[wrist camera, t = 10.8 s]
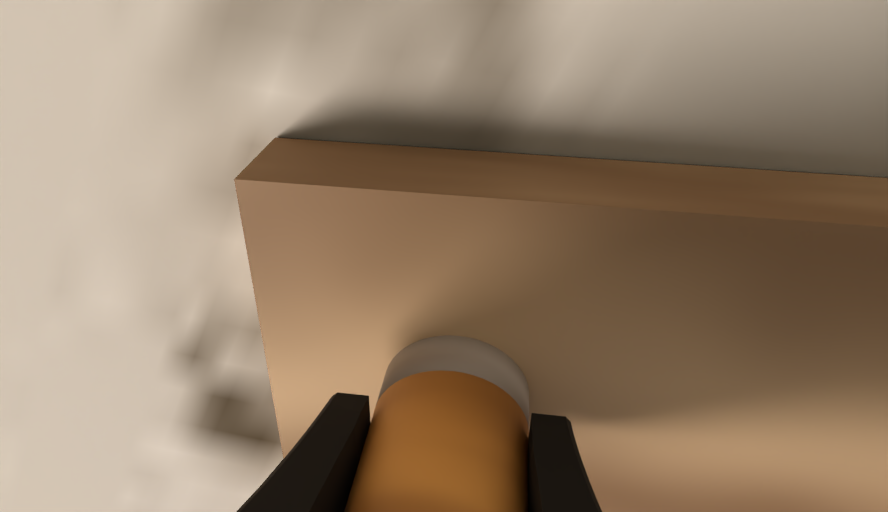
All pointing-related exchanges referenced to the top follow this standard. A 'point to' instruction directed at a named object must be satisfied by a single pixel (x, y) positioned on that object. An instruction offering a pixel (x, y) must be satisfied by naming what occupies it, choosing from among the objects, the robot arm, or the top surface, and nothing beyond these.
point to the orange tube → (446, 432)
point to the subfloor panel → (596, 308)
